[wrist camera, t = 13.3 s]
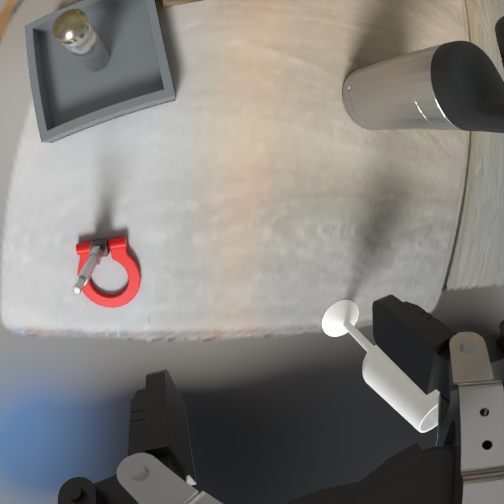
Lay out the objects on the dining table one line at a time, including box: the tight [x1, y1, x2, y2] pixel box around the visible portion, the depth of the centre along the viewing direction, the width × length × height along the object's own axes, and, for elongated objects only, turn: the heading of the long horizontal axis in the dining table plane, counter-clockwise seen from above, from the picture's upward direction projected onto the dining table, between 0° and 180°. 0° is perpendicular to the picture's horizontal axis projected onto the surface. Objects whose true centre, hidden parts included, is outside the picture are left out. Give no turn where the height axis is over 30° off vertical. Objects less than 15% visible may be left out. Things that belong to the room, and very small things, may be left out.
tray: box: [25, 0, 175, 143], centre depth 29 cm, size 16×16×4 cm
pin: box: [52, 9, 110, 71], centre depth 24 cm, size 3×3×12 cm
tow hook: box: [73, 237, 140, 307], centre depth 33 cm, size 8×13×9 cm
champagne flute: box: [322, 300, 439, 433], centre depth 38 cm, size 7×7×24 cm
